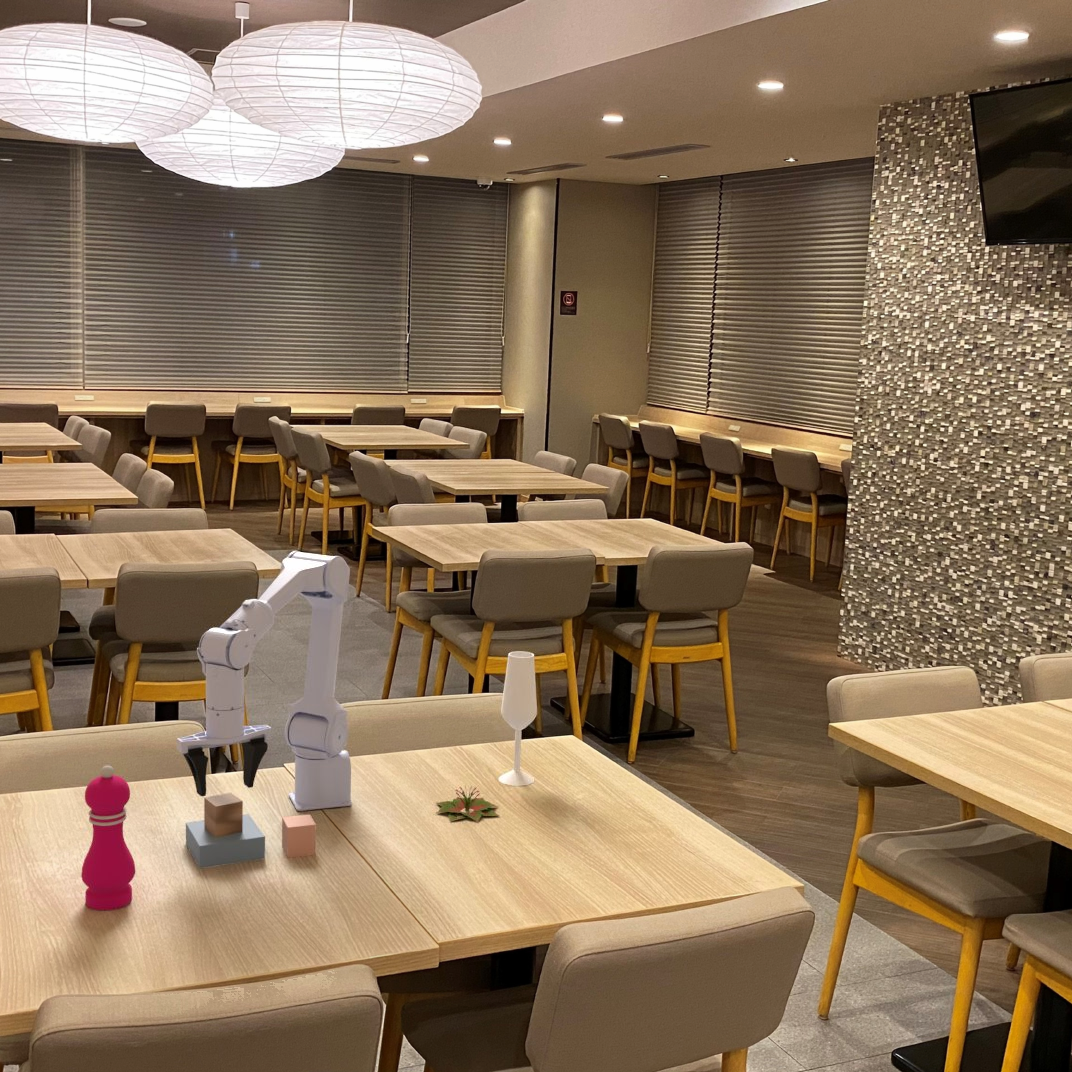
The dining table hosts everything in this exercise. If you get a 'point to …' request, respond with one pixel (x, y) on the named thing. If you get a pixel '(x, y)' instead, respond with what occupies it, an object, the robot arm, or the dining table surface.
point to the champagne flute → (519, 707)
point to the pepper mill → (108, 844)
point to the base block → (225, 844)
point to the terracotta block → (298, 835)
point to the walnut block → (223, 814)
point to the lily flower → (467, 807)
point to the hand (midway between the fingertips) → (225, 789)
